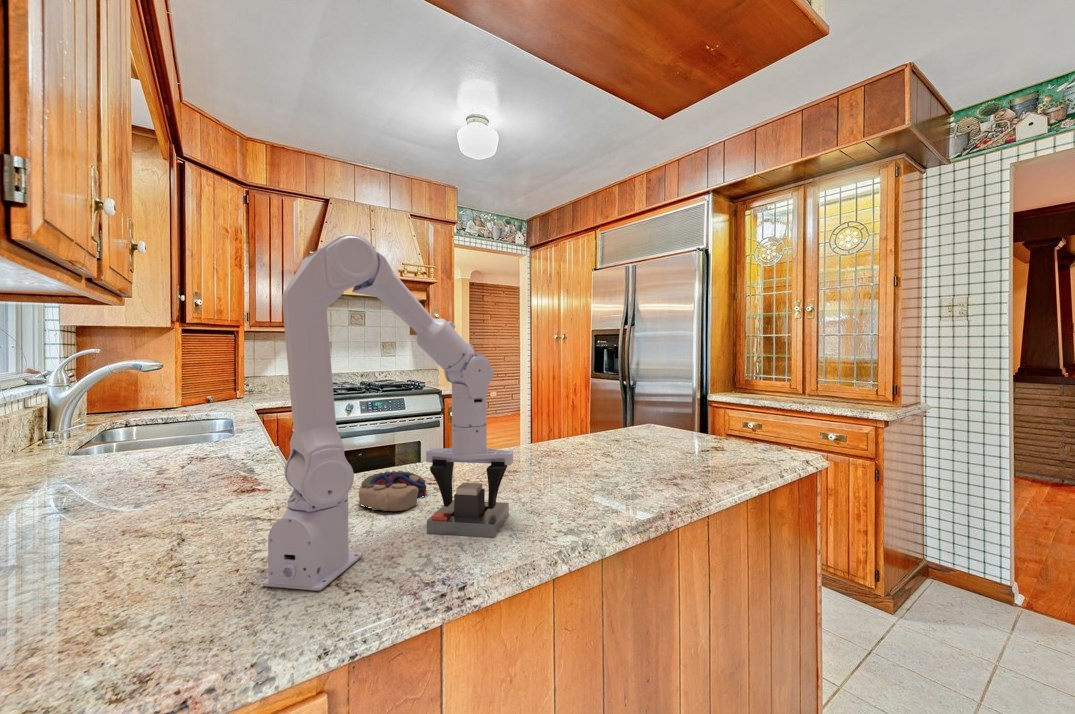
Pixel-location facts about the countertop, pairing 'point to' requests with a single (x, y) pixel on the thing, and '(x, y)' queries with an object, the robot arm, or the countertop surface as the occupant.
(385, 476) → the anatomical model
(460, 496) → the plug
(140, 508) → the countertop surface
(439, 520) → the socket plate
